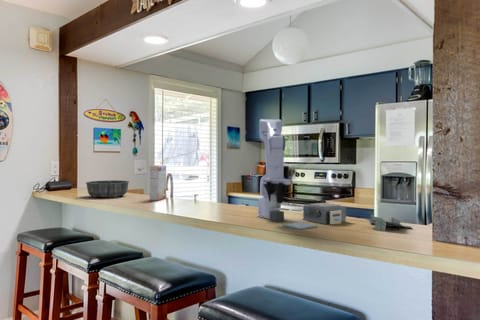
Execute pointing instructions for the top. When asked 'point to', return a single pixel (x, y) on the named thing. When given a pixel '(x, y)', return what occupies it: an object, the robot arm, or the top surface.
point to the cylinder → (274, 201)
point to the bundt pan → (107, 188)
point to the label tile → (335, 217)
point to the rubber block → (276, 216)
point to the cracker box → (157, 182)
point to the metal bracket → (385, 223)
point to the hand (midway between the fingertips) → (275, 202)
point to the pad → (299, 225)
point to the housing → (322, 212)
